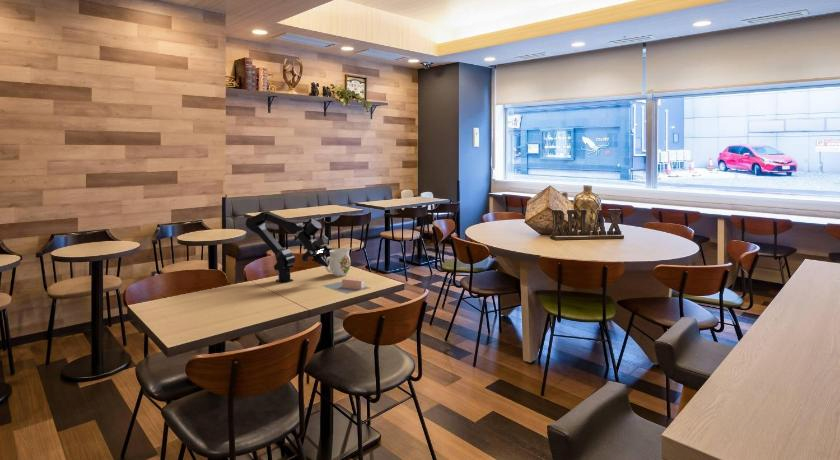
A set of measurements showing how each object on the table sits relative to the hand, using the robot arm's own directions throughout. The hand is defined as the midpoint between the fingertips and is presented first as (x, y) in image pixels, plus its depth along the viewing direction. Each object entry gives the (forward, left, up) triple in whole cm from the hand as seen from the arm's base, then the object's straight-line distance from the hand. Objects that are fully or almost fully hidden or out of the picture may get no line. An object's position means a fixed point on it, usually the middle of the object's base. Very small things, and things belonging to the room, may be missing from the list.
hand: (327, 266), depth 244 cm
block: (+8, +4, -7) cm, 11 cm away
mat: (+9, +4, -10) cm, 14 cm away
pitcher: (-14, +16, -10) cm, 23 cm away
